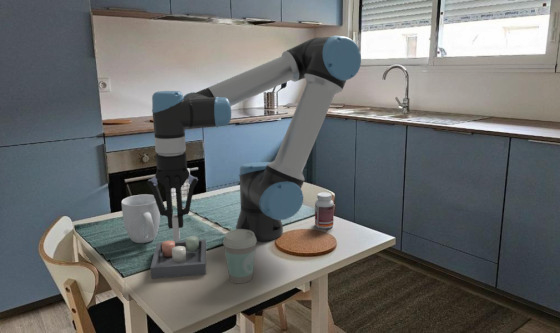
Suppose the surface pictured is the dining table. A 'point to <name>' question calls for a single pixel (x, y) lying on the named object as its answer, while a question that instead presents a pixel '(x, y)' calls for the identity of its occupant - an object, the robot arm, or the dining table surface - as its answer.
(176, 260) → the button ivory
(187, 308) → the dining table surface
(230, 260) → the coffee cup
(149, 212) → the mug
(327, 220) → the pill bottle
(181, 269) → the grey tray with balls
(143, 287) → the dining table surface
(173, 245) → the button coral
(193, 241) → the button sage
